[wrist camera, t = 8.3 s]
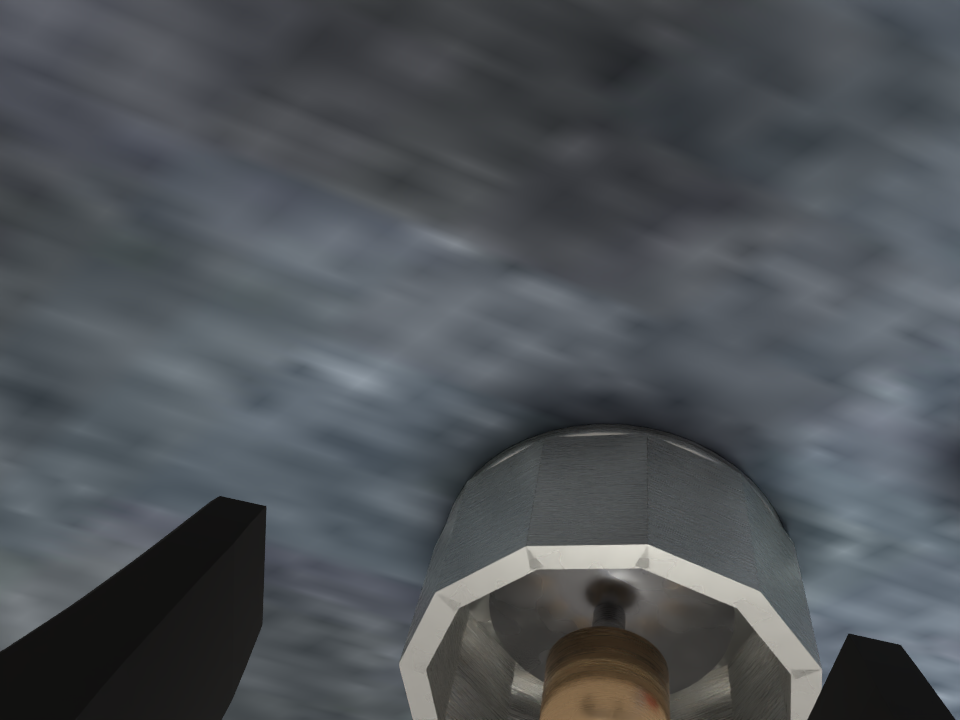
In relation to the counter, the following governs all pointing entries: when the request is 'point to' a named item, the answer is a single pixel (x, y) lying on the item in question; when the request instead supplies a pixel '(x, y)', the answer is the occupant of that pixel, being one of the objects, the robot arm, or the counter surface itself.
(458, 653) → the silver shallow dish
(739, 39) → the counter surface
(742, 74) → the counter surface
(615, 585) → the plunger
